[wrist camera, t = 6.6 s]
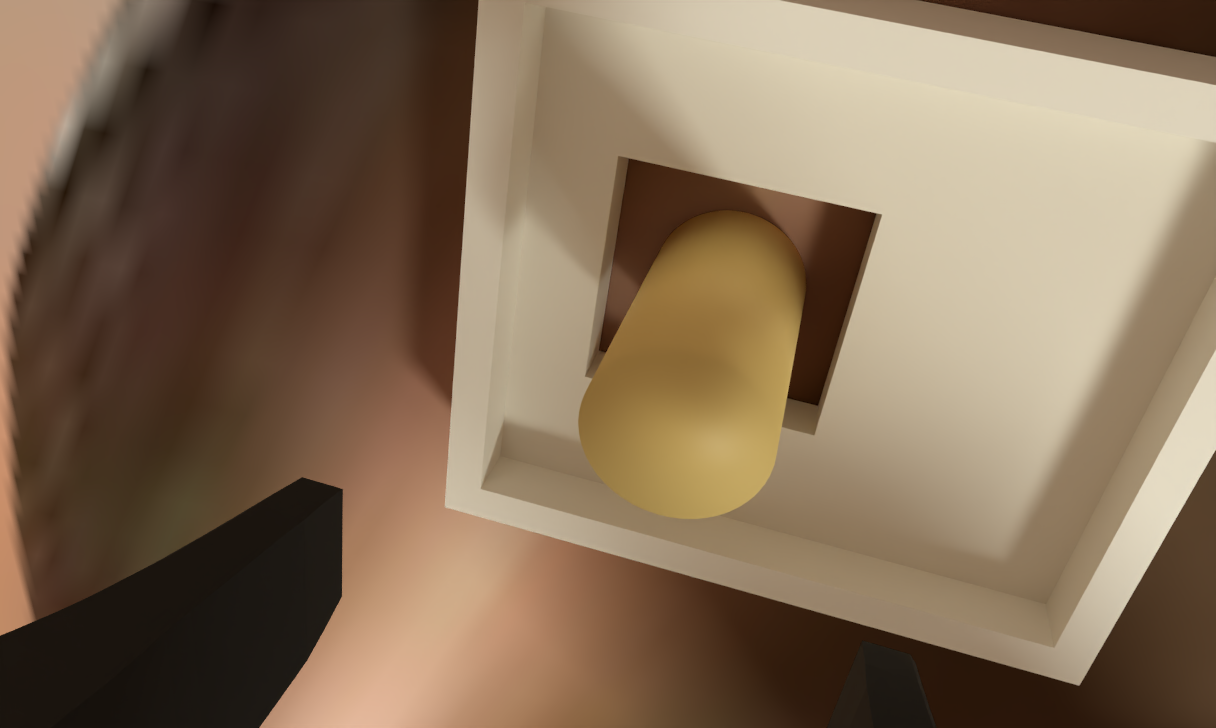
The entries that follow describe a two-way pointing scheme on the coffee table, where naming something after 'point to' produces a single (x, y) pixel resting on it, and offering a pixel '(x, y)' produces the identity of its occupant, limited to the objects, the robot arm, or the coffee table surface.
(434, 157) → the coffee table surface
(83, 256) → the coffee table surface
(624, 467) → the peg
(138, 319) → the coffee table surface
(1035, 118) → the bore box
